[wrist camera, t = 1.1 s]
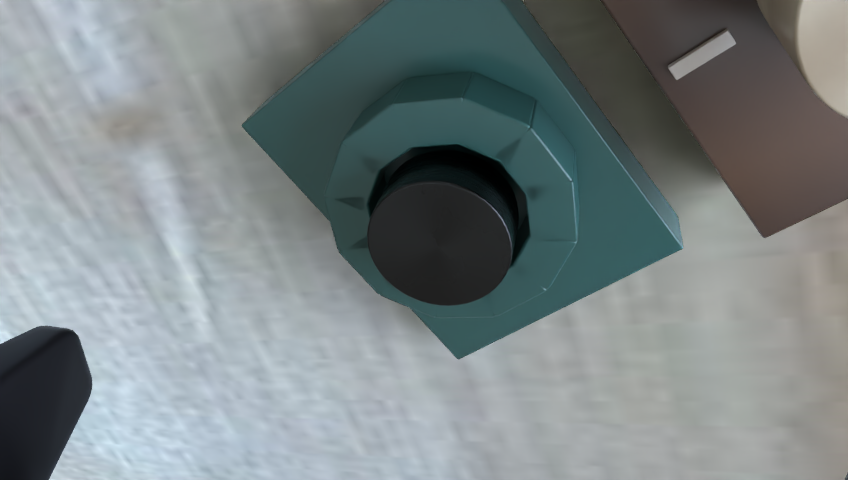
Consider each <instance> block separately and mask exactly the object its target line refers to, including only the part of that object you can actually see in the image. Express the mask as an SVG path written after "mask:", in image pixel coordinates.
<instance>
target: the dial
mask: <svg viewBox="0 0 848 480" xmlns="http://www.w3.org/2000/svg"><path fill="white" fill-rule="evenodd" d="M757 3H758V6H759V8H760V10H761V12H762V14H763V16H764V18H765V19H766V21H767V22H768V24H769V25H770V27H771V29H772V30H773V32H774V33H775V35H776V36H777V38H778V39H779V41H780V42H781V44H782V46H783V47H784V49H785V50H786V52H787V53H788V55H789V56H790V58H791V60H792V61H793V63H794V64H795V66H796V67H797V69H798V70H799V72H800V73H801V75H802V77H803V78H804V80H805V81H806V83H807V84H808V85H809V87H810V88H811V90H812V91H813V92H814V94H815V95H816V96H817V97H818V98H819V99H820V100H821V101H822V102H823V103H824V104H825V105H827V106H828V107H829V108H831V109H832V110H833V111H835V112H836V113H838V114H840V115H842V116H844V117H845V118H847V119H848V0H757Z"/></svg>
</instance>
